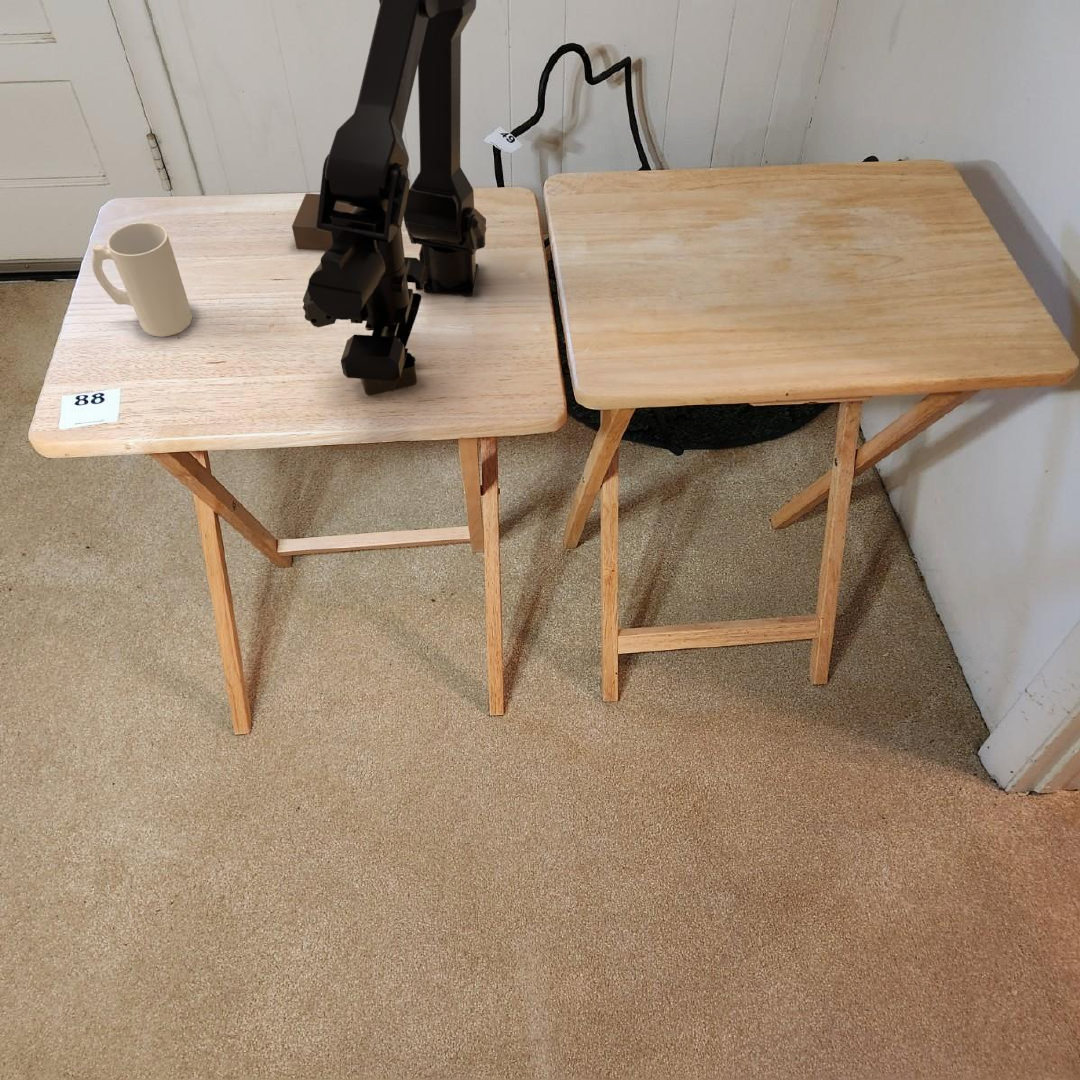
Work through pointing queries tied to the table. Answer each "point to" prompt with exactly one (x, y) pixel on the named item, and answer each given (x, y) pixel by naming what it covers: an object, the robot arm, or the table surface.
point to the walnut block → (313, 224)
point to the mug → (146, 277)
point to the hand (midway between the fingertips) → (393, 373)
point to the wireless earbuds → (405, 380)
